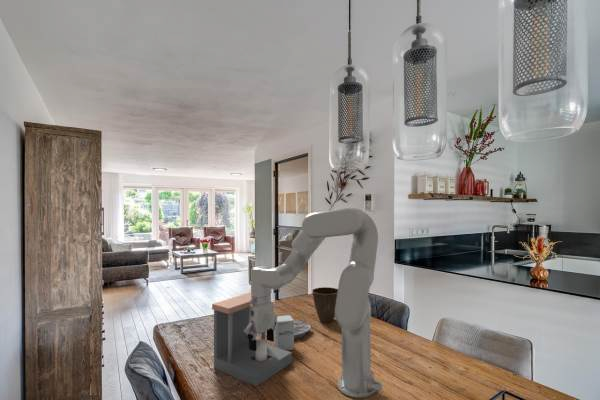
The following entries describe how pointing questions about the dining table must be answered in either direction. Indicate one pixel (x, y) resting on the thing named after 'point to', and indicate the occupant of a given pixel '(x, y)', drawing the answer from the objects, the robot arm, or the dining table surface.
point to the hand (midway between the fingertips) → (261, 345)
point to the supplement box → (284, 333)
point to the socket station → (242, 344)
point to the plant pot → (325, 303)
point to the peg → (261, 350)
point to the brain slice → (300, 328)
